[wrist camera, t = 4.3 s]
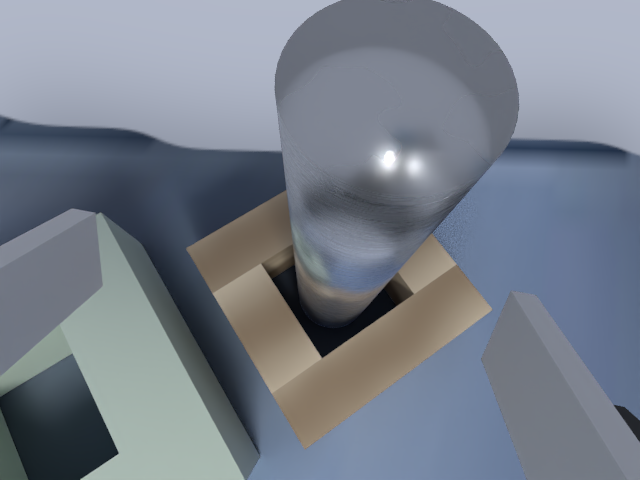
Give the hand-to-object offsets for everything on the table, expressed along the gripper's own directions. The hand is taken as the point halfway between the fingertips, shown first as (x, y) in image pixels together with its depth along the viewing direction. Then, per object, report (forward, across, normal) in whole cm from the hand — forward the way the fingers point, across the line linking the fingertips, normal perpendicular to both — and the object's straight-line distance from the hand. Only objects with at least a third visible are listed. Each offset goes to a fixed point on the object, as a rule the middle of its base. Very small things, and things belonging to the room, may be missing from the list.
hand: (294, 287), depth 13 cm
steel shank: (+9, +2, -6) cm, 11 cm away
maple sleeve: (+9, +2, -6) cm, 11 cm away
